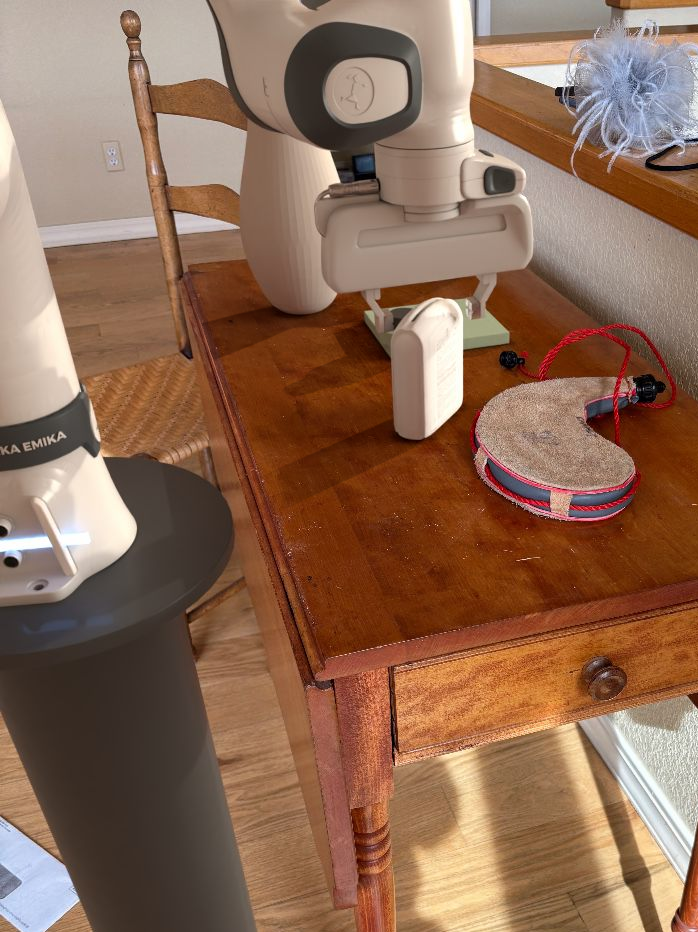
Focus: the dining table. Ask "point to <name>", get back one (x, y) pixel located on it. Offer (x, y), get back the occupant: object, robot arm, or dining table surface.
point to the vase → (284, 218)
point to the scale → (473, 330)
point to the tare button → (399, 315)
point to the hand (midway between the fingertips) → (430, 323)
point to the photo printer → (427, 367)
